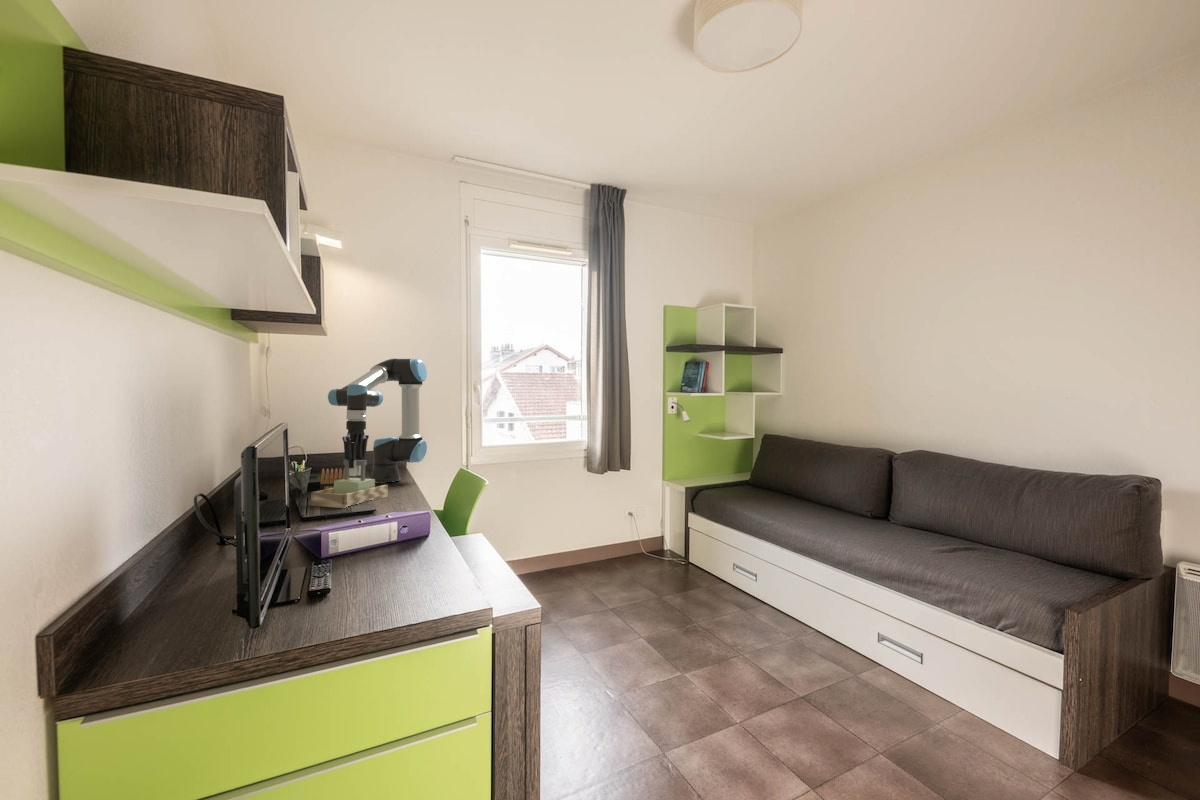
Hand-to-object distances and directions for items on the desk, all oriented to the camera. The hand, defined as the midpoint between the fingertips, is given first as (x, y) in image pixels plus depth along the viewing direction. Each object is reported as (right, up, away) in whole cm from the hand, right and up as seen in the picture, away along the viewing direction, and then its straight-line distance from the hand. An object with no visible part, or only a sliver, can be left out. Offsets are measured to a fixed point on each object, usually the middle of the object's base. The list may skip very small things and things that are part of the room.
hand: (354, 475), depth 210 cm
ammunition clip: (-15, -11, +11) cm, 21 cm away
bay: (-1, -10, -2) cm, 11 cm away
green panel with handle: (0, -9, 0) cm, 9 cm away
